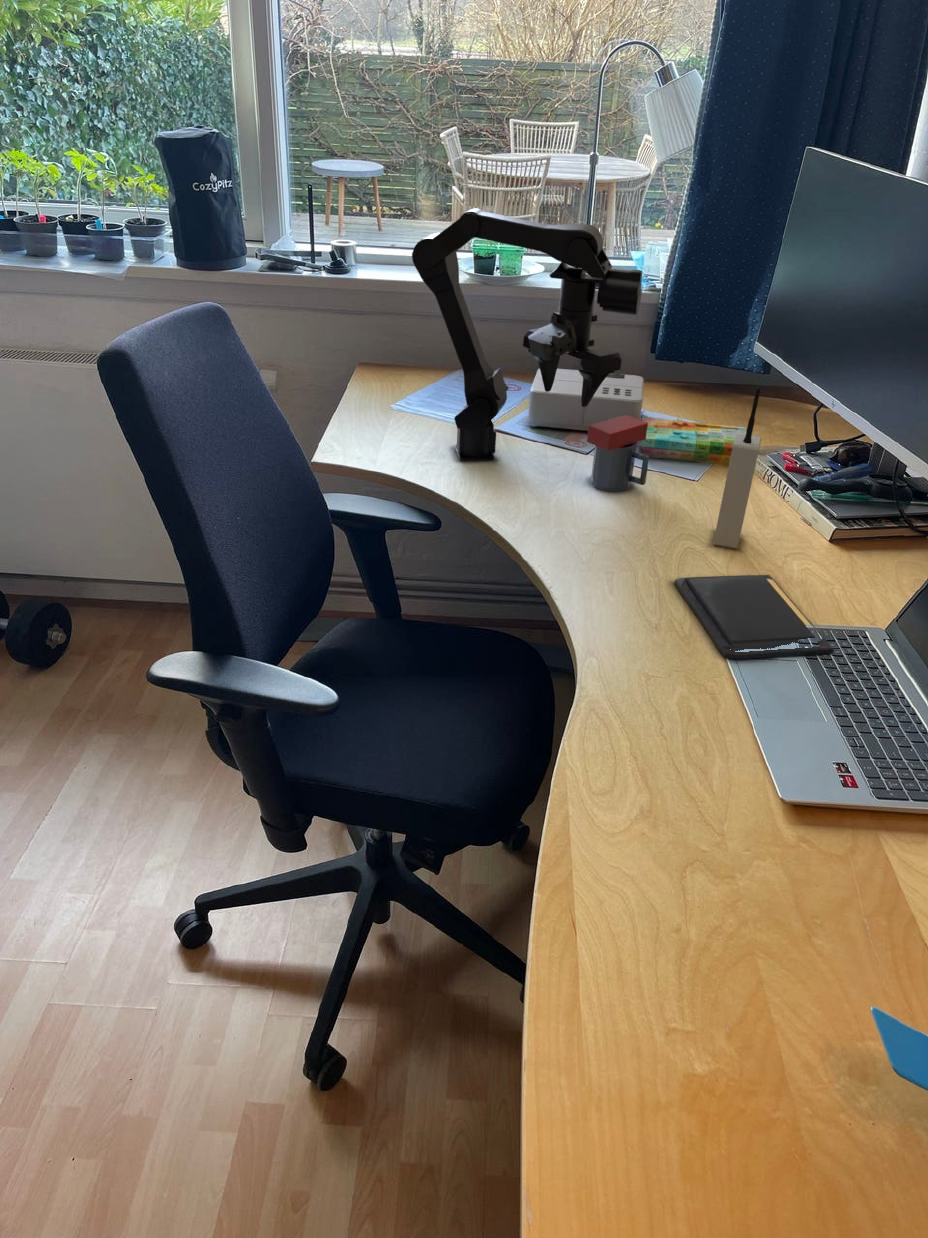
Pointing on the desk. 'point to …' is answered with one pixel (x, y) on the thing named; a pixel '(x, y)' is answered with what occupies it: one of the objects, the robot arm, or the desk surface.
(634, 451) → the mug
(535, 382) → the projector
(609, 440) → the red rectangular block
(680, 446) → the puzzle game
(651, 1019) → the desk surface
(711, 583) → the wallet
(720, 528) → the vintage mobile phone
